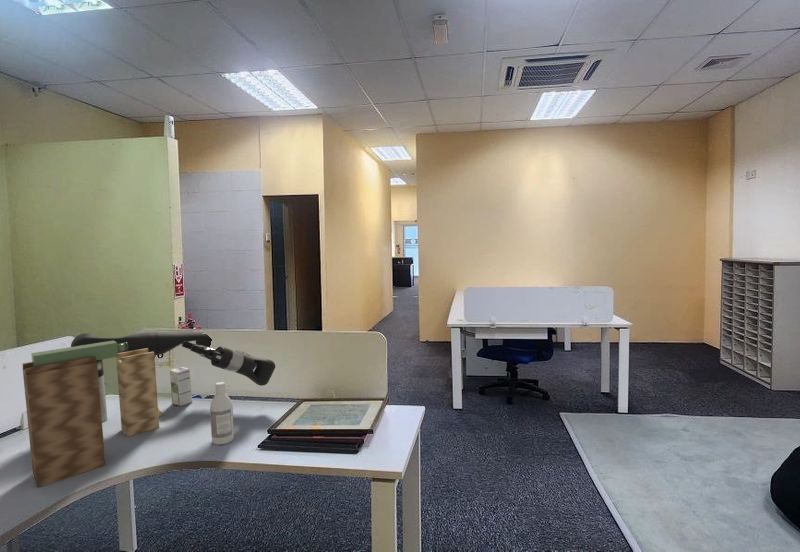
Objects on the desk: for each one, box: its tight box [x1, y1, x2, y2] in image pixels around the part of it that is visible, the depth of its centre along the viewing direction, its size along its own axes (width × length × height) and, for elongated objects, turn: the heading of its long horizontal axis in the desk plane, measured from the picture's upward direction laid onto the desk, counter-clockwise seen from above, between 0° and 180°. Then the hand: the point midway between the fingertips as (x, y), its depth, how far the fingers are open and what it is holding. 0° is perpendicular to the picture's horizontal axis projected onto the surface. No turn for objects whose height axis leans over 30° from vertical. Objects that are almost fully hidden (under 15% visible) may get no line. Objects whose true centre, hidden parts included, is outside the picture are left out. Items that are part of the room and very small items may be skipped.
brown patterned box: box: [22, 356, 106, 488], centre depth 128 cm, size 16×10×34 cm, turn 136°
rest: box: [115, 348, 160, 437], centre depth 156 cm, size 10×8×28 cm
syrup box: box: [169, 366, 193, 407], centre depth 180 cm, size 6×6×14 cm
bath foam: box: [209, 381, 235, 446], centre depth 146 cm, size 7×7×20 cm
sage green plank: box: [30, 340, 128, 367], centre depth 130 cm, size 23×4×4 cm, turn 136°
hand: (187, 345), depth 153 cm, fingers open, 8 cm apart
